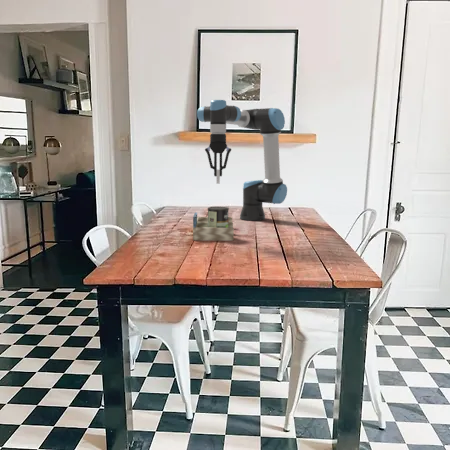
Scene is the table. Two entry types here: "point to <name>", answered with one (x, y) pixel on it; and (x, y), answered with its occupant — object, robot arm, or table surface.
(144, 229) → the table surface
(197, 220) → the organizer
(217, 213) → the coffee can
